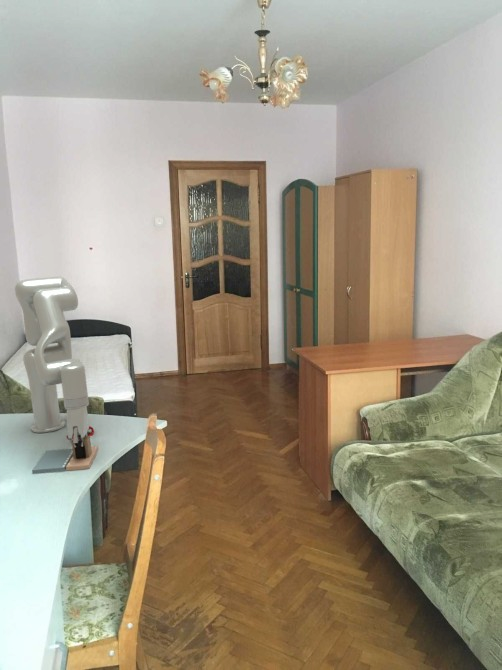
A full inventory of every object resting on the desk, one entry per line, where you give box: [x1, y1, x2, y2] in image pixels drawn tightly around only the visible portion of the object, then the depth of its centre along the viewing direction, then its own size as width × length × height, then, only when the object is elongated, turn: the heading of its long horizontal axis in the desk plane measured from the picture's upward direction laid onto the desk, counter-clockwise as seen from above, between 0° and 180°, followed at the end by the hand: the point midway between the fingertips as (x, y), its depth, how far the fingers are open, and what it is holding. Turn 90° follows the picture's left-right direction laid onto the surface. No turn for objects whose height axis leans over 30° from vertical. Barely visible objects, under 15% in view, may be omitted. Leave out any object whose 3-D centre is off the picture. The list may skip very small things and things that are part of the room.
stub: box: [65, 436, 99, 471], centre depth 181 cm, size 16×7×7 cm, turn 5°
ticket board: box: [31, 447, 73, 475], centre depth 181 cm, size 16×10×1 cm, turn 5°
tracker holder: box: [66, 425, 95, 442], centre depth 202 cm, size 12×4×10 cm
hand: (82, 454), depth 181 cm, fingers closed on stub, 4 cm apart
